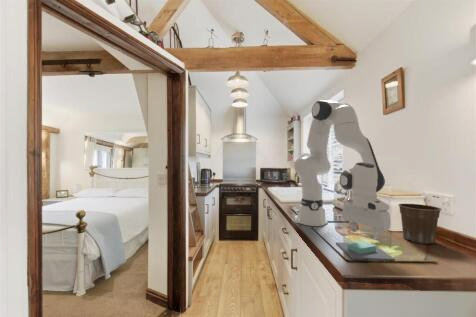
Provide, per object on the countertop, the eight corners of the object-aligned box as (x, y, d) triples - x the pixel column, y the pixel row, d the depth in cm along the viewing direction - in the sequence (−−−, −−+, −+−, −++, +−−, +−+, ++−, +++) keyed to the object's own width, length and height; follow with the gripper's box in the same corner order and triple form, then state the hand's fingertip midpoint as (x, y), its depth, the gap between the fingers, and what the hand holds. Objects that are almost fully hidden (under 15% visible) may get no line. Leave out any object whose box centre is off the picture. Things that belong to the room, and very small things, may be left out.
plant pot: (393, 232, 122) (393, 202, 122) (430, 236, 117) (431, 204, 117) (404, 243, 107) (405, 208, 107) (448, 248, 102) (448, 211, 102)
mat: (335, 243, 105) (335, 242, 105) (372, 244, 104) (372, 243, 104) (351, 259, 89) (351, 257, 89) (395, 260, 88) (395, 259, 88)
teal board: (363, 240, 101) (347, 243, 98) (376, 245, 95) (359, 248, 92) (363, 246, 101) (347, 248, 98) (376, 251, 95) (359, 254, 92)
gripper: (339, 197, 105) (338, 228, 106) (382, 207, 86) (381, 244, 87) (349, 197, 108) (348, 227, 108) (393, 206, 89) (392, 242, 89)
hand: (363, 235), depth 97 cm, fingers open, 8 cm apart
